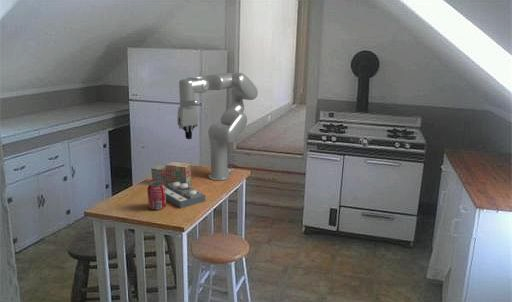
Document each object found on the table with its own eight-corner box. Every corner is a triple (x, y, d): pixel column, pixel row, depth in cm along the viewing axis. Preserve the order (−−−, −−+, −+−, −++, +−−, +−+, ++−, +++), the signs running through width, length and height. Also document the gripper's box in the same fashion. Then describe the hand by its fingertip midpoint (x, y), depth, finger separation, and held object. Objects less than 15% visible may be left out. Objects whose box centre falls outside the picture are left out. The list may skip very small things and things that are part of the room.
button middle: (185, 186, 202) (185, 182, 201) (189, 188, 199) (189, 184, 198) (178, 187, 199) (178, 184, 199) (182, 190, 196) (182, 186, 196)
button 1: (177, 184, 208) (177, 181, 207) (181, 186, 205) (181, 183, 204) (170, 186, 205) (170, 182, 205) (174, 188, 202) (174, 184, 202)
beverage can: (159, 202, 192) (157, 179, 189) (169, 207, 188) (168, 183, 184) (145, 207, 186) (143, 183, 183) (155, 212, 182) (154, 187, 179)
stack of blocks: (152, 184, 219) (150, 163, 216) (158, 180, 224) (156, 160, 221) (186, 188, 212) (185, 166, 209) (192, 185, 218) (191, 163, 215)
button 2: (193, 193, 196) (193, 189, 196) (198, 195, 193) (198, 191, 193) (187, 195, 194) (186, 191, 193) (191, 197, 191) (191, 193, 190)
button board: (181, 188, 212) (180, 180, 211) (205, 201, 195) (205, 192, 194) (157, 194, 203) (156, 186, 202) (180, 208, 186) (180, 199, 185)
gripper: (195, 101, 210) (197, 135, 214) (170, 104, 200) (172, 139, 205) (203, 103, 204) (204, 137, 209) (178, 105, 195) (180, 142, 199)
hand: (188, 138), depth 207 cm, fingers closed
